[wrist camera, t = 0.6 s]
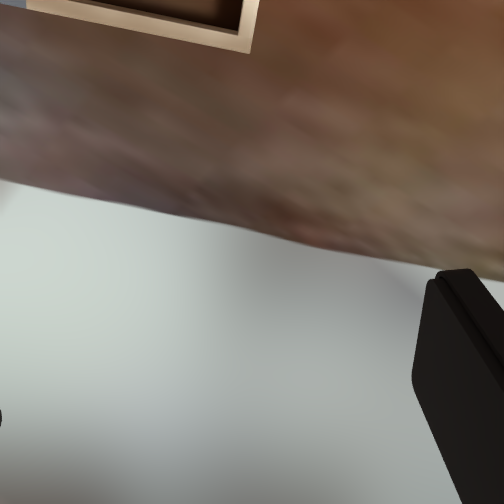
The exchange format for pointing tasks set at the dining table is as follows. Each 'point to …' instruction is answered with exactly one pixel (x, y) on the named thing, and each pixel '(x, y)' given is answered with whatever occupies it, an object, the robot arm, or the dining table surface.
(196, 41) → the frame
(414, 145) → the dining table surface
